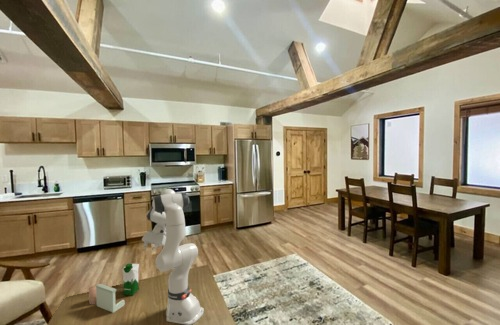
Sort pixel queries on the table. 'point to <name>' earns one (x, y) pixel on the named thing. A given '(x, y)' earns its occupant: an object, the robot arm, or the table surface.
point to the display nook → (107, 298)
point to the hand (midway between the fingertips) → (148, 249)
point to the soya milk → (130, 279)
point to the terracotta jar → (92, 295)
